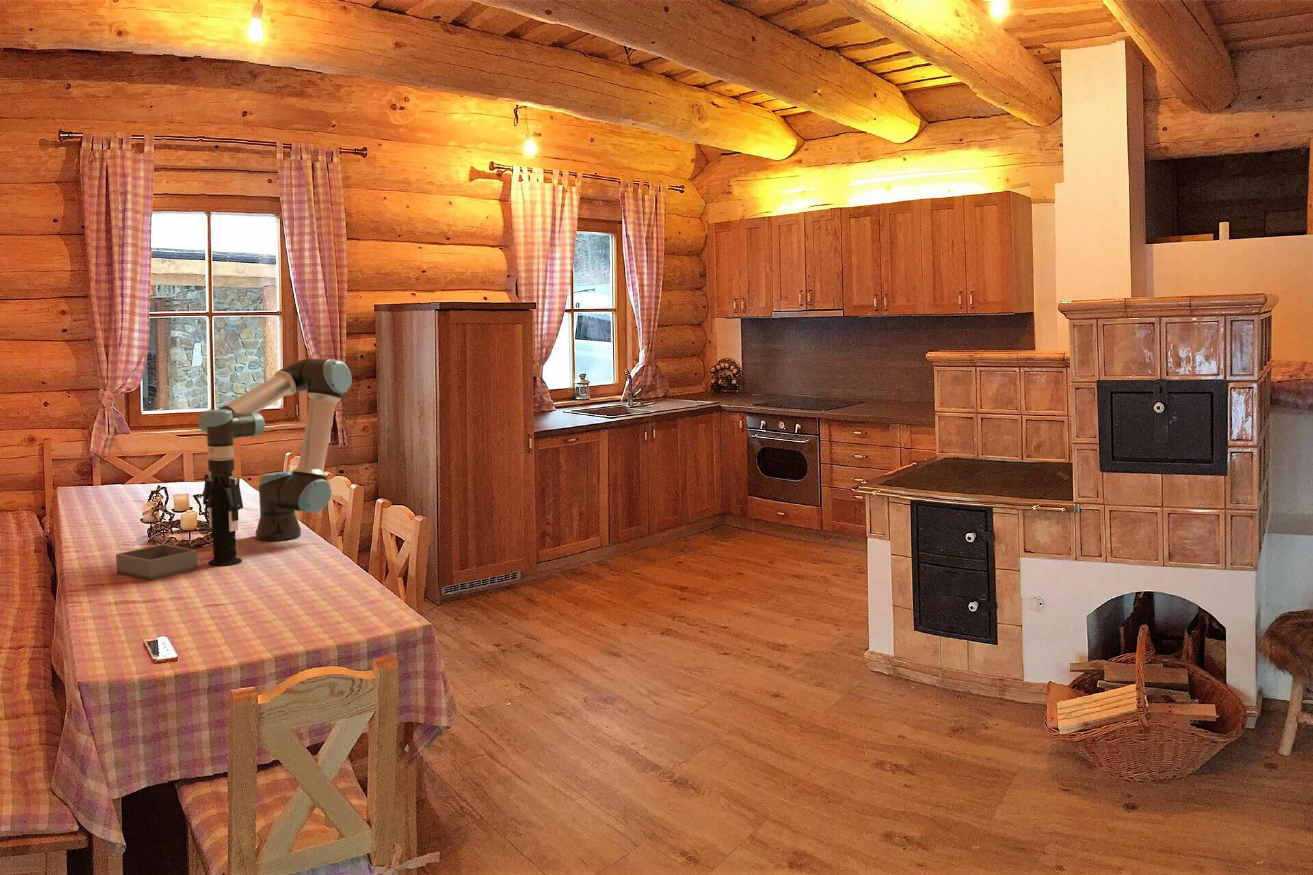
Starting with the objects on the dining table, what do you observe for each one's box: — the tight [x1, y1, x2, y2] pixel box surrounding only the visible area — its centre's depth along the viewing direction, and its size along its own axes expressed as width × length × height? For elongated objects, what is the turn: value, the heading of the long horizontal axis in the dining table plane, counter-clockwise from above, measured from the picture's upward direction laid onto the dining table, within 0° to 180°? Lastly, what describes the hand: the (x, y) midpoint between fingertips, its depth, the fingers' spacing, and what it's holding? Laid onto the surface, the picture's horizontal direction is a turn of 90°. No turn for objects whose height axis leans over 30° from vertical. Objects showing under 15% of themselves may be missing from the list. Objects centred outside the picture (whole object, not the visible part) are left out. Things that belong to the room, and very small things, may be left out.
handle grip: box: [207, 482, 243, 567], centre depth 321 cm, size 10×26×10 cm
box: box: [115, 543, 199, 582], centre depth 310 cm, size 16×16×6 cm
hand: (223, 528), depth 321 cm, fingers open, 9 cm apart
